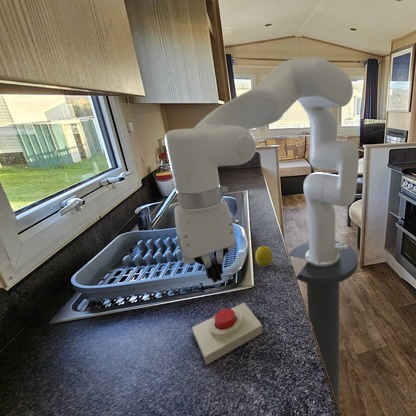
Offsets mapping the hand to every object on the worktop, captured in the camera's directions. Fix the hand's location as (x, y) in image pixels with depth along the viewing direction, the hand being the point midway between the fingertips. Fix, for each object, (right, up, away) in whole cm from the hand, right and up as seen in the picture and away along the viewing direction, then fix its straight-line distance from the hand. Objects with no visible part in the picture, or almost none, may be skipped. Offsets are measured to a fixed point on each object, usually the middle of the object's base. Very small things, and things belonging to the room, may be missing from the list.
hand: (215, 278), depth 56 cm
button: (0, -12, +5) cm, 13 cm away
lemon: (+4, -5, +32) cm, 33 cm away
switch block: (+1, -15, +6) cm, 16 cm away
